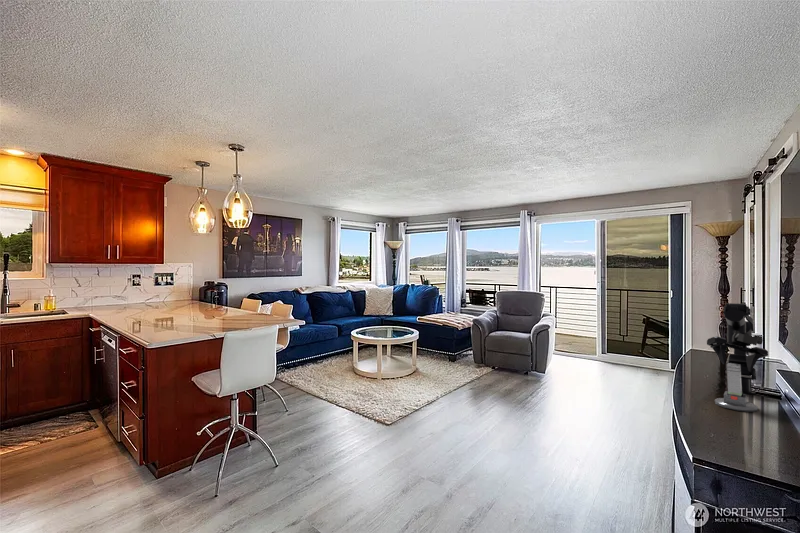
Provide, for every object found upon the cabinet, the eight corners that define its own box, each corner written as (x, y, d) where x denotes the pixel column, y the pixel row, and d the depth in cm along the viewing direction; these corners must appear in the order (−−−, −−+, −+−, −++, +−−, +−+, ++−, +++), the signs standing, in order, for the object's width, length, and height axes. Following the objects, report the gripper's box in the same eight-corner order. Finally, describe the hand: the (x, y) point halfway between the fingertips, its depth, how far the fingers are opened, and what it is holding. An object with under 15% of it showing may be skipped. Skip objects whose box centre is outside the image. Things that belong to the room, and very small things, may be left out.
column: (729, 392, 141) (727, 362, 141) (742, 394, 138) (740, 364, 139) (727, 394, 138) (726, 364, 139) (741, 396, 136) (739, 366, 136)
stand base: (717, 399, 147) (716, 387, 147) (758, 406, 138) (758, 394, 138) (712, 406, 138) (712, 394, 139) (756, 414, 130) (756, 401, 130)
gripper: (724, 319, 146) (724, 356, 141) (779, 333, 142) (780, 372, 136) (706, 326, 156) (705, 361, 151) (756, 339, 152) (757, 376, 146)
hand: (736, 367), depth 146 cm, fingers open, 9 cm apart
